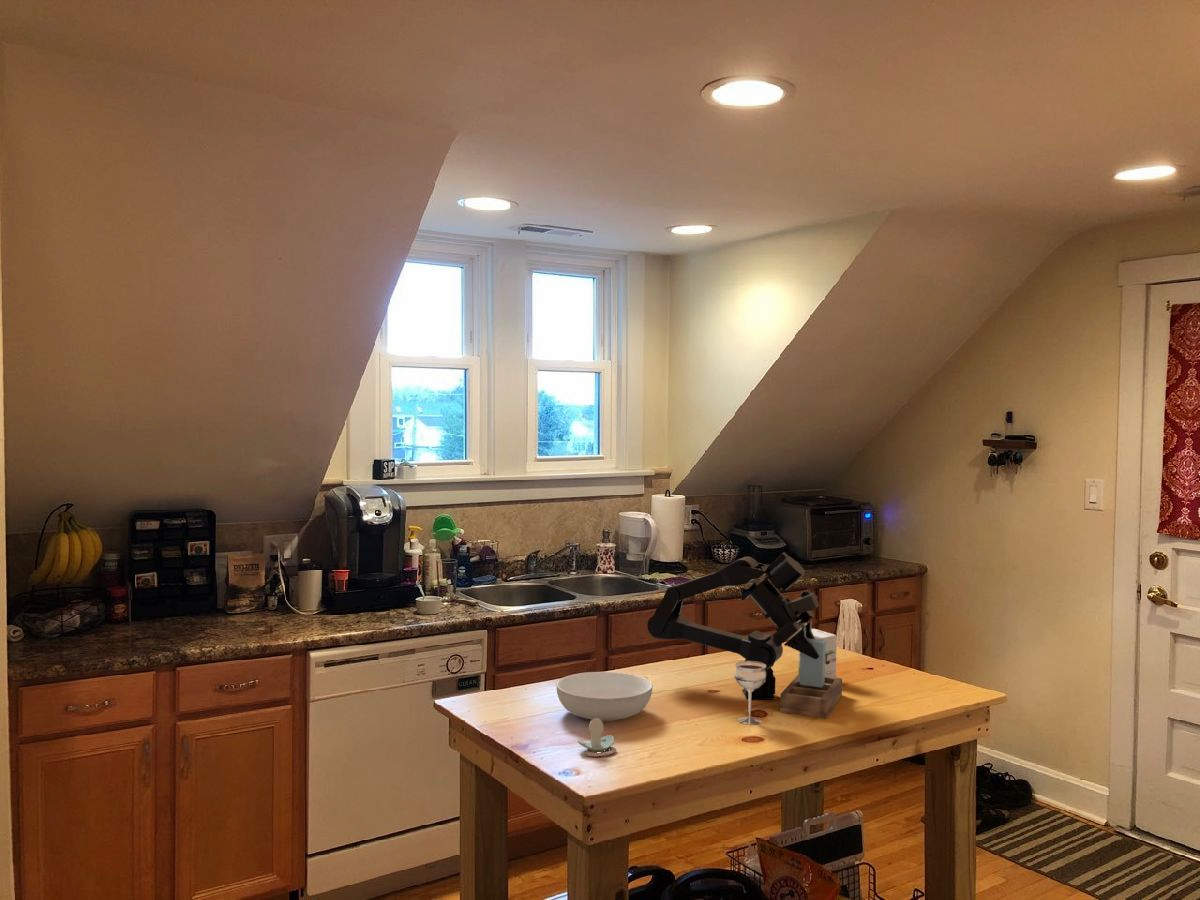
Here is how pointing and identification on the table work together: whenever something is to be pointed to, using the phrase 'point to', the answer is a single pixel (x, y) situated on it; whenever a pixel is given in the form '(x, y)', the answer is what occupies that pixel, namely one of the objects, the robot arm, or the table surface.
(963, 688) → the table surface
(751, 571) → the robot arm
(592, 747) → the pacifier
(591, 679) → the serving bowl
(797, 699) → the rack
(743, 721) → the wineglass
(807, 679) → the light blue block
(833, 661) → the ink box
